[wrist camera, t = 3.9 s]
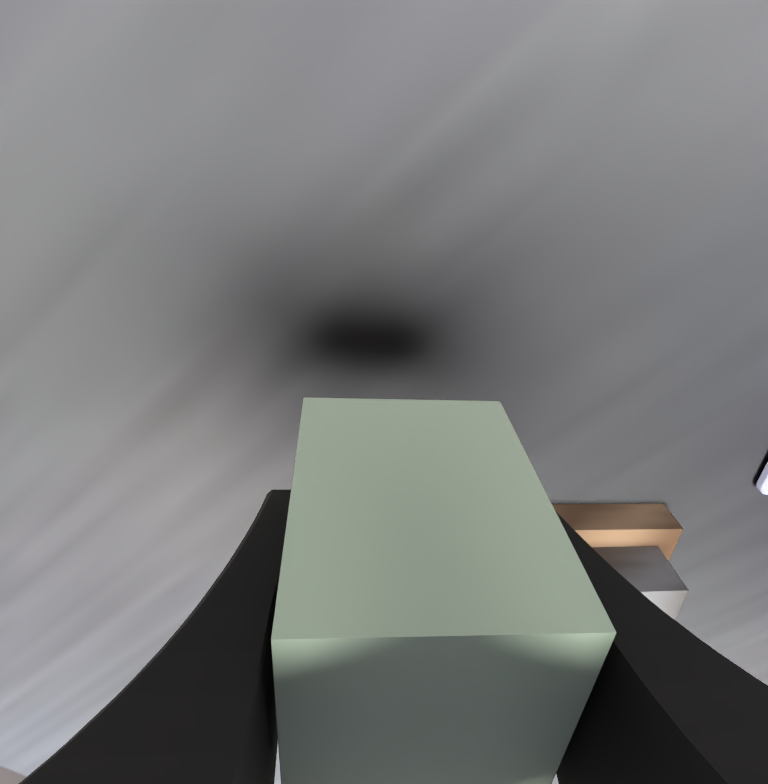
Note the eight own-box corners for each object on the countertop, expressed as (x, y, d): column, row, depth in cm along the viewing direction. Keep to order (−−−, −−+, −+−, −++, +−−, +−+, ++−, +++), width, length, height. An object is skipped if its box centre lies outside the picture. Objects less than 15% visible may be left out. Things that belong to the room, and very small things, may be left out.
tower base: (655, 492, 26) (683, 528, 24) (593, 644, 32) (612, 684, 30) (416, 493, 25) (423, 531, 23) (398, 650, 31) (403, 692, 29)
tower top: (658, 546, 24) (688, 590, 22) (602, 675, 29) (623, 721, 27) (446, 549, 24) (456, 596, 21) (425, 682, 29) (432, 730, 26)
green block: (499, 401, 12) (617, 632, 7) (472, 543, 14) (544, 798, 9) (303, 397, 12) (271, 639, 7) (306, 543, 14) (283, 811, 9)
